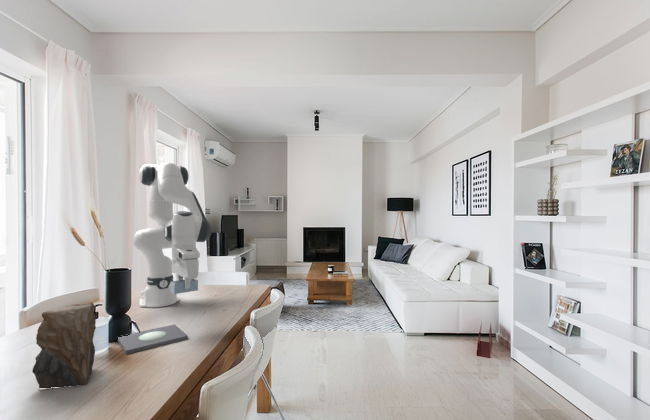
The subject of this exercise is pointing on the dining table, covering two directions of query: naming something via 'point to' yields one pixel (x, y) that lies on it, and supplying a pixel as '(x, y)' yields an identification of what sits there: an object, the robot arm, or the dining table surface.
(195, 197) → the robot arm
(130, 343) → the charging mat
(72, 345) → the brown rock
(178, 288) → the phone
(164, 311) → the dining table surface
